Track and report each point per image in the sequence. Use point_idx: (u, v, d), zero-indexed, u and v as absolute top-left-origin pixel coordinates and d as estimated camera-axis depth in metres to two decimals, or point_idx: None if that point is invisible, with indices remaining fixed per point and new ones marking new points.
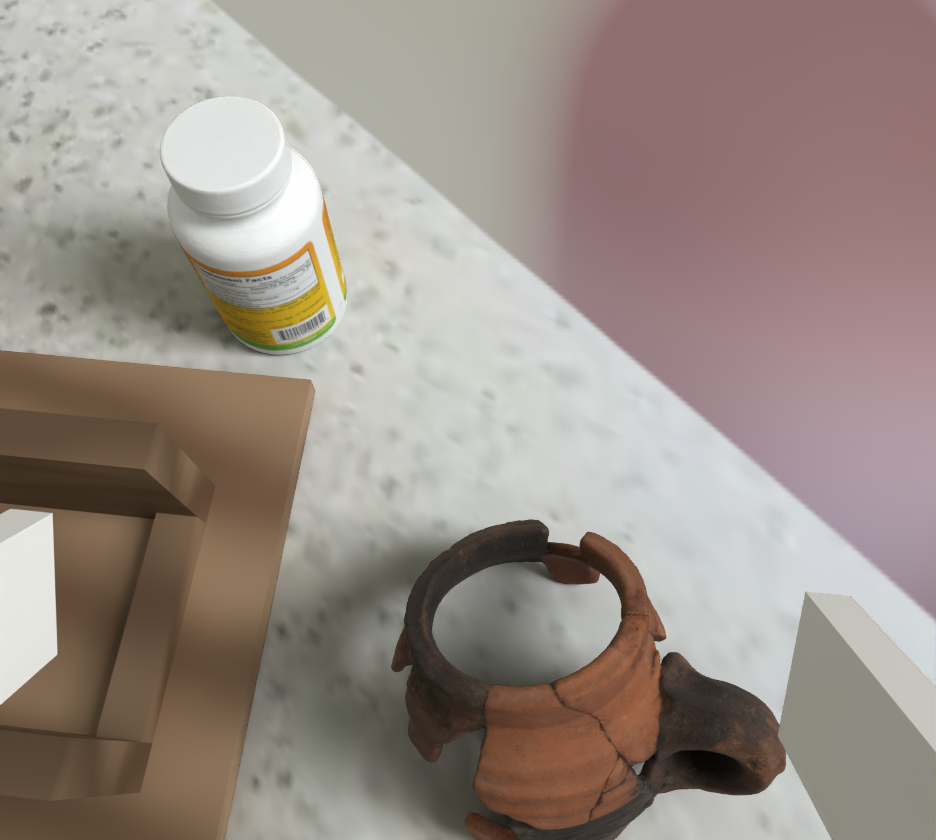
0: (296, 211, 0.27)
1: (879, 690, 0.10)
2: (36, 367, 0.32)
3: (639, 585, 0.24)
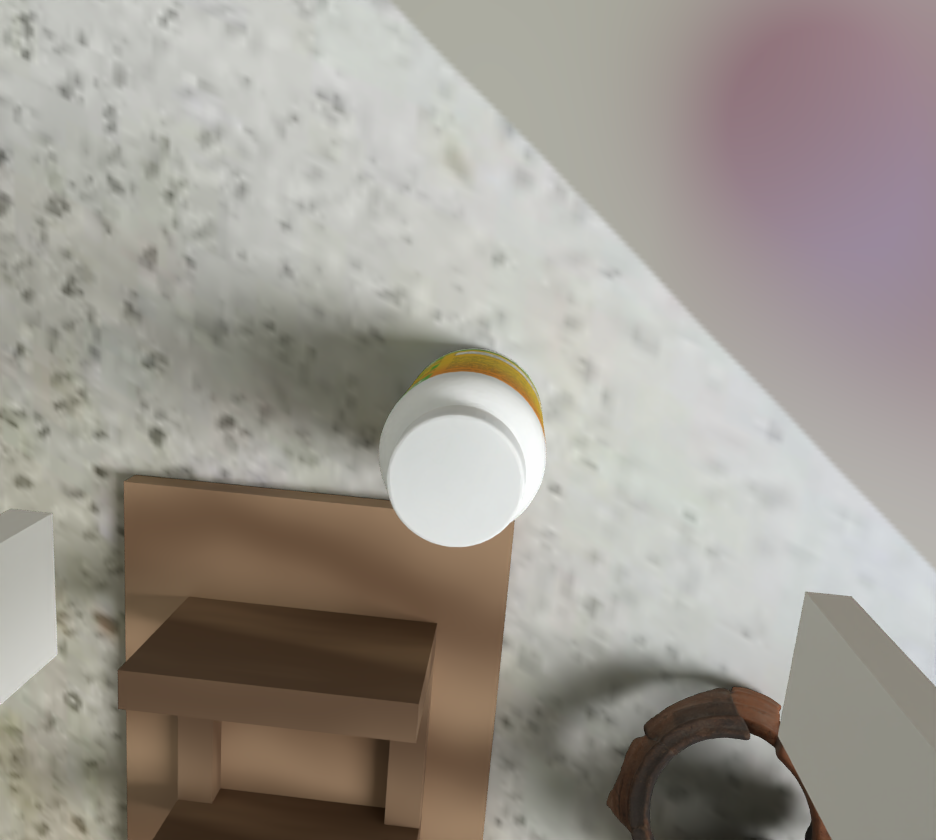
0: (526, 492, 0.25)
1: (879, 690, 0.10)
2: (242, 507, 0.32)
3: None
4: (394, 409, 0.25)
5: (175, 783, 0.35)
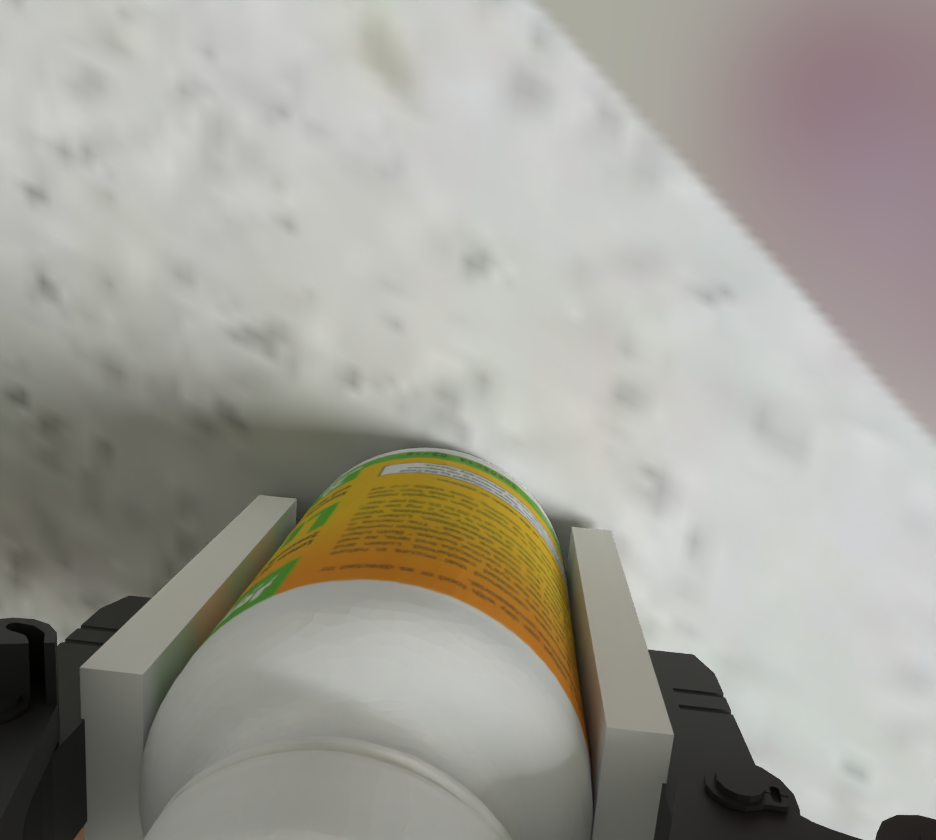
0: None
1: (583, 594, 0.13)
2: None
3: None
4: (173, 690, 0.09)
5: None
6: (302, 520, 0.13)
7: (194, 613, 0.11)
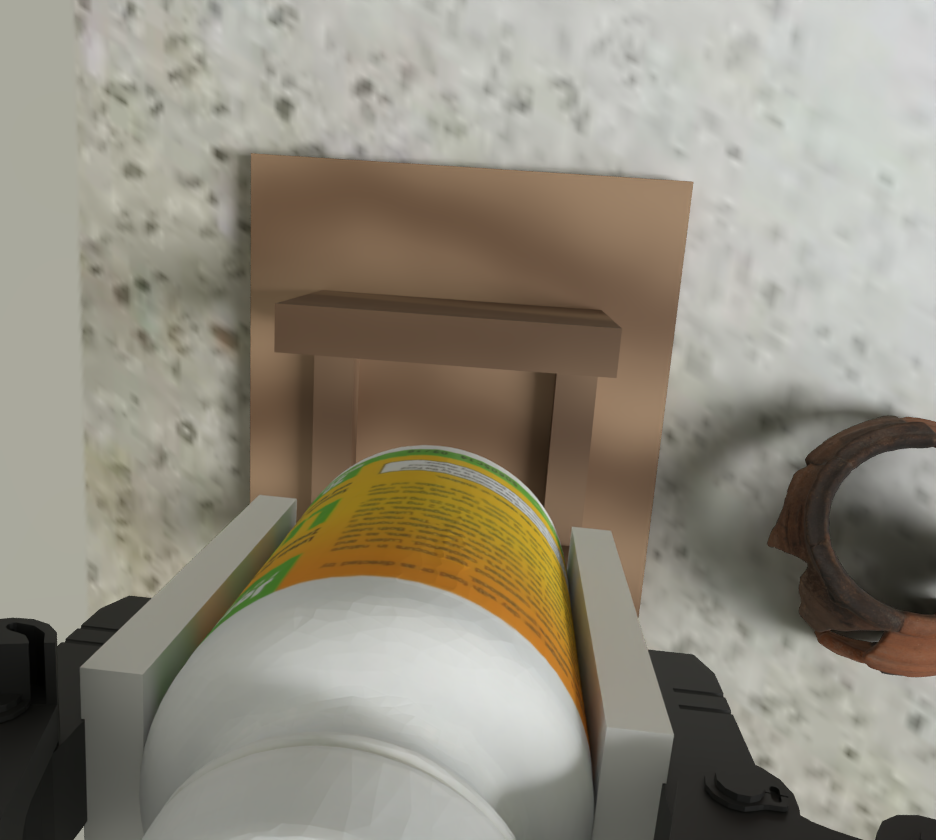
0: None
1: (583, 594, 0.13)
2: (384, 179, 0.29)
3: None
4: (174, 686, 0.09)
5: None
6: (303, 517, 0.13)
7: (194, 613, 0.11)
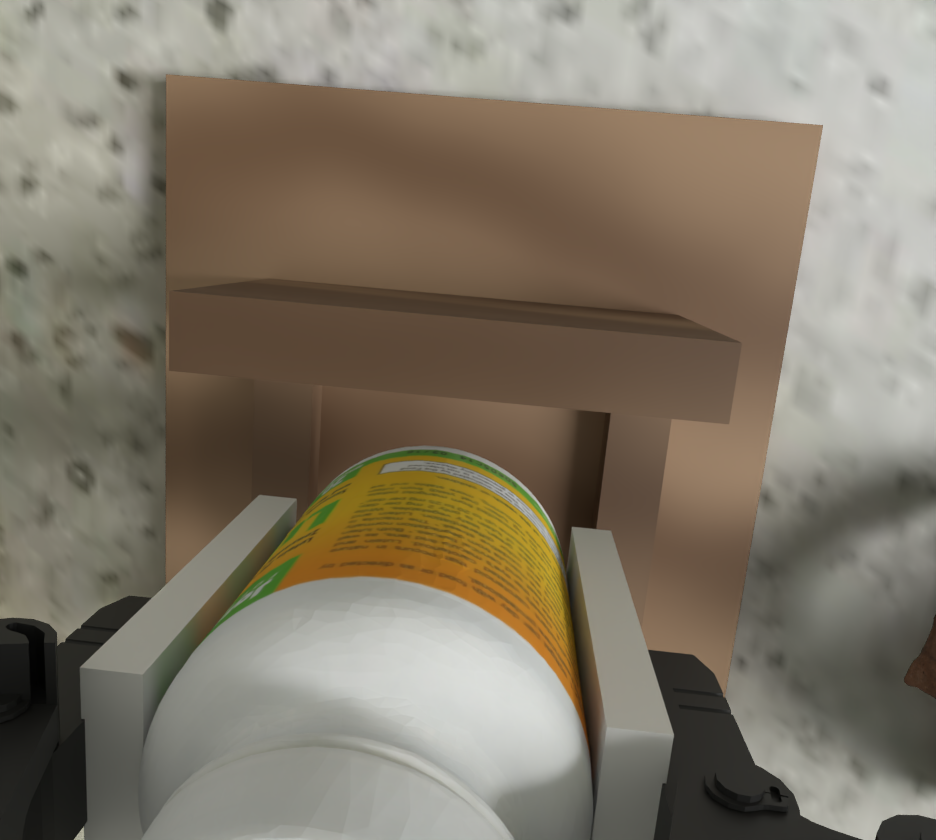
0: None
1: (583, 594, 0.13)
2: (362, 115, 0.20)
3: None
4: (172, 687, 0.09)
5: None
6: (302, 518, 0.13)
7: (194, 613, 0.11)
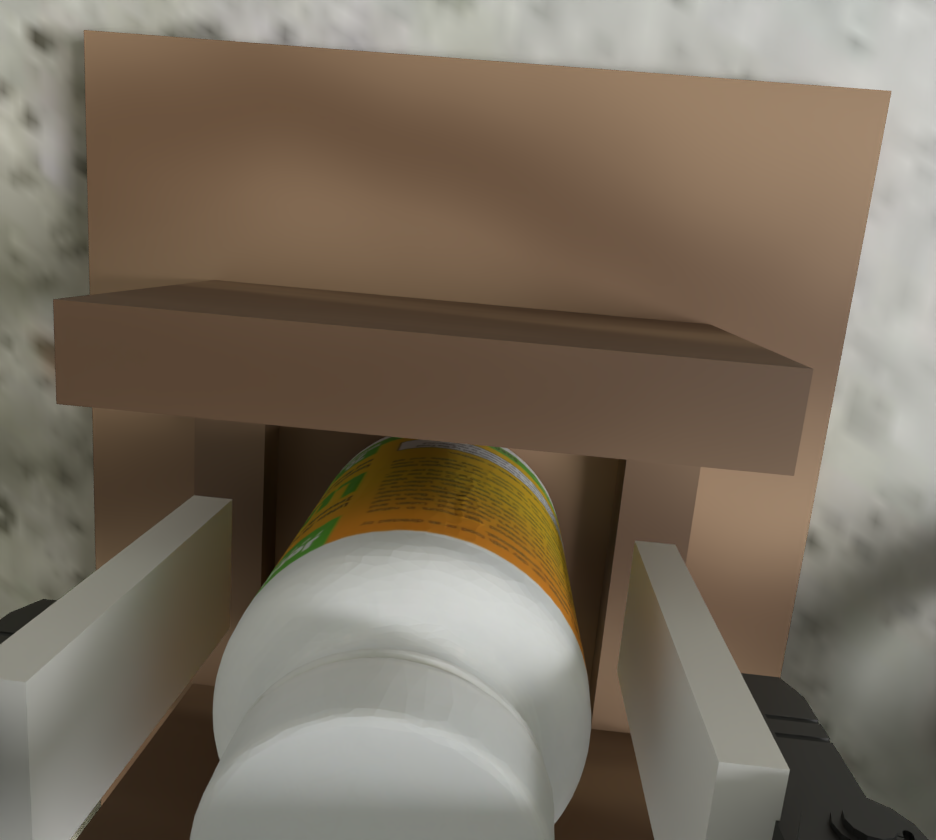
0: None
1: (660, 614, 0.12)
2: (323, 80, 0.16)
3: None
4: (242, 623, 0.11)
5: None
6: (331, 490, 0.15)
7: (95, 618, 0.10)
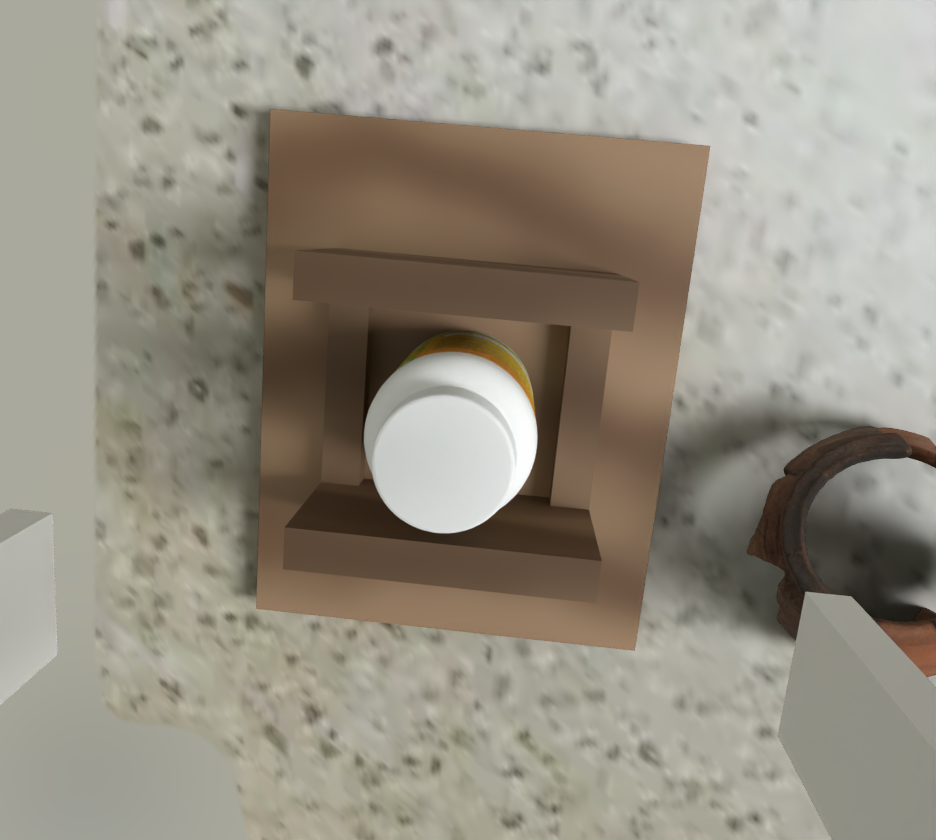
0: (517, 476, 0.24)
1: (879, 690, 0.10)
2: (402, 137, 0.29)
3: None
4: (379, 392, 0.24)
5: (313, 474, 0.32)
6: (407, 358, 0.28)
7: None
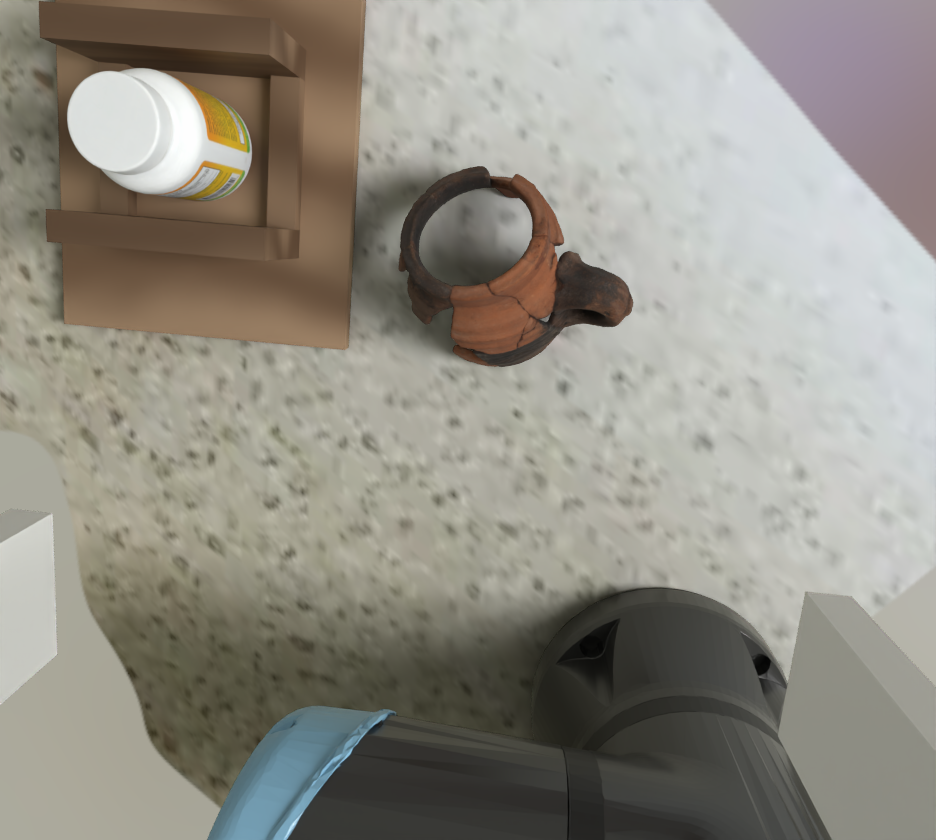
0: (185, 150, 0.35)
1: (879, 690, 0.10)
2: None
3: (544, 214, 0.37)
4: None
5: (100, 213, 0.43)
6: None
7: None
